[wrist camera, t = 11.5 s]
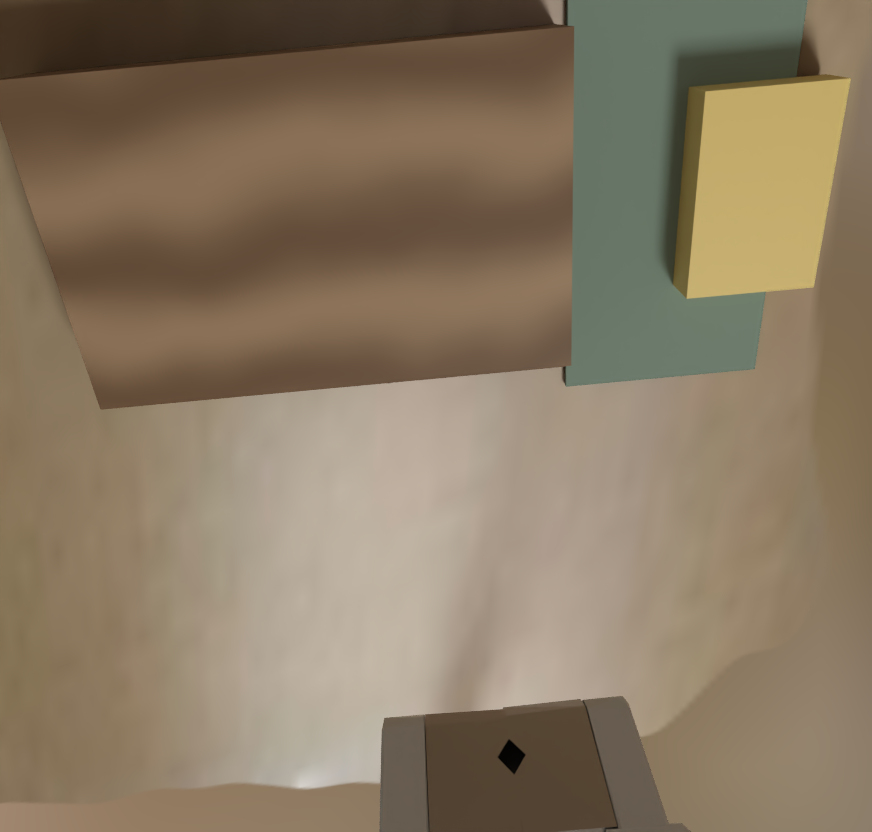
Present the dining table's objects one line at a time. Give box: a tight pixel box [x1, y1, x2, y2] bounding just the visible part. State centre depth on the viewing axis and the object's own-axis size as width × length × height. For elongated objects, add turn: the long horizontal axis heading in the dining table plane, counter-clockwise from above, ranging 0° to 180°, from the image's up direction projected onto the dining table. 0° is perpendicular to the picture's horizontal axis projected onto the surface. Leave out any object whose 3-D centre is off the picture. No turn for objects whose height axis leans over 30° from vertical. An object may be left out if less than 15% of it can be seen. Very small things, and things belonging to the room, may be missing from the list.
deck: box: [0, 24, 574, 409], centre depth 33 cm, size 14×22×4 cm, turn 95°
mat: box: [565, 0, 807, 386], centre depth 34 cm, size 20×10×1 cm, turn 5°
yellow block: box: [673, 74, 851, 299], centre depth 33 cm, size 9×6×2 cm, turn 5°
